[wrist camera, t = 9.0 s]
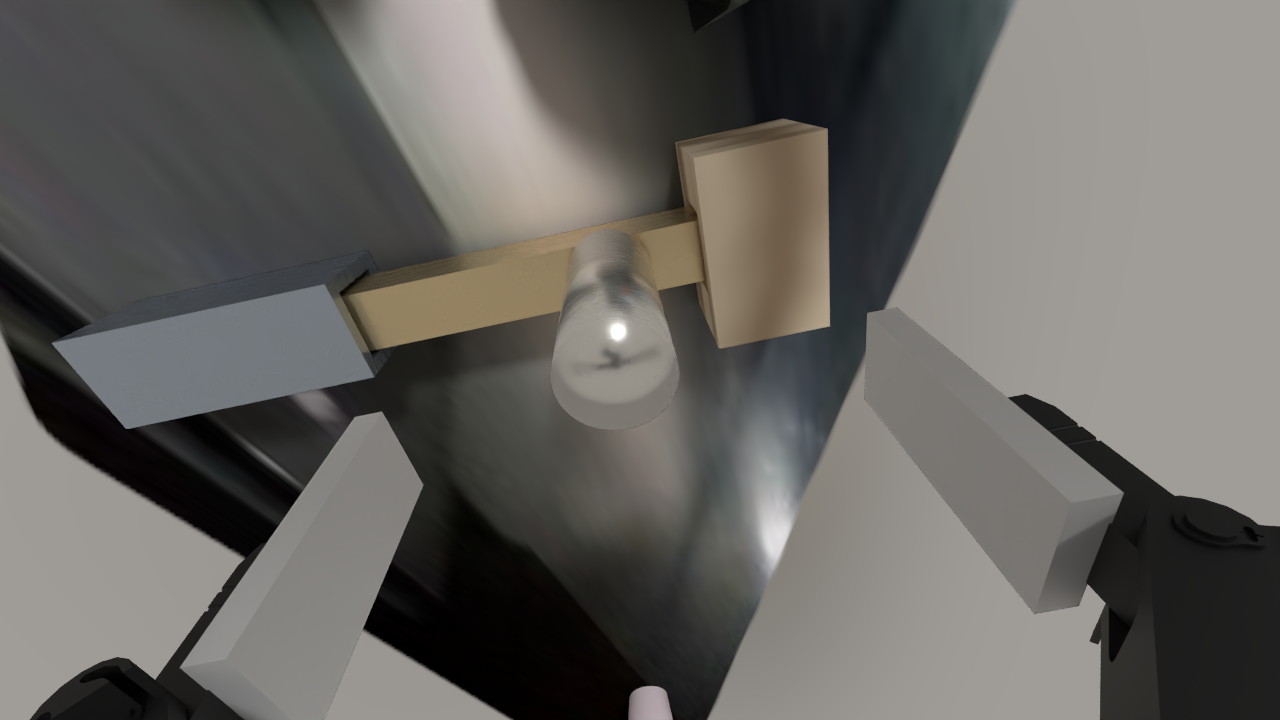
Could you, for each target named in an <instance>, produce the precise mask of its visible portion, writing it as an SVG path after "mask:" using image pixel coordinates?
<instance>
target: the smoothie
mask: <svg viewBox="0 0 1280 720" xmlns="http://www.w3.org/2000/svg"><path fill="white" fill-rule="evenodd" d="M628 720H673V719H672V714H671V710H670V705H669V701H668V697H667V693H666V691H665V690H664V689H662V688H660V687H656V686H646V687H641V688H639V689H636V690H635V691H633V692H632V693H631V695H630V701H629V717H628Z"/></svg>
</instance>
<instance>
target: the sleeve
mask: <svg viewBox="0 0 1280 720" xmlns="http://www.w3.org/2000/svg"><path fill="white" fill-rule="evenodd" d="M375 273H379V272H378V270H377V268H376V266H375V264H374V262H373V260H372V257H371V255H370V253H369V251H365V252H361V253H356V254H351V255H347V256H342V257H338V258H333V259H328V260H324V261H319V262H315V263H310V264H305V265H301V266H296V267H292V268H287V269H282V270H278V271H273V272H269V273H264V274H259V275H255V276H250V277H246V278H241V279H236V280H232V281H227V282H223V283H218V284H213V285H209V286H204V287H200V288H195V289H190V290H186V291H181V292H177V293H172V294H167V295H163V296H158V297H154V298H149V299H144V300H140V301H137V302H135V303H133V304H130V305H128V306H126V307H124V308H122V309H120V310H118V311H116V312H114V313H112V314H110V315H108V316H106V317H104V318H102V319H100V320H98V321H96V322H94V323H92V324H90V325H87V326H85V327H83V328H81V329H79V330H77V331H75V332H73V333H71V334H69V335H67V336H65V337H63V338H61V339H59V340H57V341H55V342H53V343H52V344H53V345H54V347H55V348H56V349H57V350H58V351H59V352H60V353H61V355H62V356H63V357H64V358H65V359H66V360H67V361H68V363H69V364H70V365H71V366H72V367H73V368H74V369H75V371H76V372H77V373H78V374H79V375H80V376H81V378H82V379H83V380H84V381H85V382H86V383H87V384H88V386H89V387H90V388H91V389H92V390H93V391H94V392H95V394H96V395H97V396H98V397H99V398H100V399H101V400H102V402H103V403H104V404H105V405H106V406H107V407H108V408H109V410H110V411H111V412H112V413H113V414H114V415H115V416H116V418H117V419H118V420H119V421H120V422H121V423H122V424H123V426H124V427H125V428H126V429H129V428H134V427H139V426H143V425H148V424H153V423H158V422H162V421H167V420H172V419H177V418H182V417H186V416H191V415H196V414H201V413H206V412H210V411H215V410H220V409H225V408H230V407H234V406H239V405H244V404H249V403H253V402H258V401H263V400H268V399H273V398H277V397H282V396H287V395H292V394H297V393H301V392H306V391H311V390H316V389H320V388H325V387H330V386H335V385H340V384H344V383H349V382H354V381H359V380H364V379H368V378H373V377H375V376H376V374H377V373H378V372H379V370H380V369H381V368H382V366H383V365H384V364H385V362H386V361H387V360H388V358H389V357H390V356H391V354H392V353H393V352H394V350H395V349H396V347H397V346H398V345H397V346H392V347H387V348H382V349H378V350H373V351H369V349H368V347H367V345H366V343H365V341H364V339H363V337H362V336H361V334H360V332H359V330H358V328H357V326H356V324H355V322H354V320H353V318H352V317H351V315H350V313H349V311H348V309H347V307H346V305H345V303H344V301H343V299H342V297H341V296H340V294H339V292H340V291H342V290H343V289H344V288H345V287H346V286H348V285H349V284H350V283H351V282H352V281H354V280H355V279H356V278H357V277H361V276H366V275H370V274H375Z"/></svg>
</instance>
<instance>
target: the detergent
mask: <svg viewBox="0 0 1280 720" xmlns="http://www.w3.org/2000/svg"><path fill="white" fill-rule="evenodd" d="M686 1H688V6H689V11H690V16H691V21H692V26H693V32H694V33H696V32H697V31H699V30H701V29H702V28H704V27H706V26H707V25H709V24H711V23H712V22H714V21H716V20H717V19H719V18H721V17H723V16H724V15H726V14H728V13H729V12H731V11H733V10H734V9H736V8H738V7H739V6H741V5H743V4H745V3H746V2H748V1H750V0H686Z"/></svg>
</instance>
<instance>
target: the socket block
mask: <svg viewBox="0 0 1280 720" xmlns="http://www.w3.org/2000/svg"><path fill="white" fill-rule="evenodd" d="M675 145H676V152H677V159H678V165H679V172H680V179H681V185H682V192H683V199H684V206H690V205H692V206H693V208H694V209H695V210H696V212H697V217H698V224H699V231H700V238H701V245H702V253H703V260H704V267H705V274H706V280H705V281H700V282H696V286H697V293H698V299H699V305H700V307H701V309H702V311H703V314H704V316H705V318H706V320H707V323H708V325H709V327H710V330H711V332H712V334H713V336H714V339H715V341H716V343H717V345H718V348H719V349H722V348H727V347H732V346H737V345H741V344H746V343H751V342H756V341H761V340H766V339H771V338H775V337H780V336H785V335H790V334H795V333H800V332H804V331H809V330H814V329H819V328H824V327H829V326H830V296H829V206H828V129H826V128H822V127H817V126H813V125H809V124H804V123H800V122H796V121H791V120H787V119H779V120H774V121H770V122H765V123H761V124H756V125H751V126H747V127H742V128H738V129H733V130H729V131H724V132H720V133H715V134H711V135H706V136H701V137H697V138H692V139H688V140H683V141H679V142H675Z"/></svg>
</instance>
